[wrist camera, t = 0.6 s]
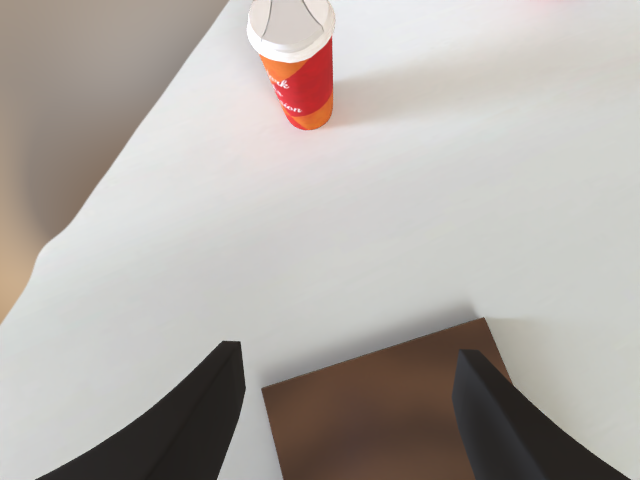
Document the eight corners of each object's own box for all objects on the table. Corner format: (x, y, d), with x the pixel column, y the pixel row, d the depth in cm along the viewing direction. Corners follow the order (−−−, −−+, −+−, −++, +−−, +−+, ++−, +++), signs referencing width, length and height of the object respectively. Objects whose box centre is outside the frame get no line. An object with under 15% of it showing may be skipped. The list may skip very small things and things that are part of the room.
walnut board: (555, 499, 34) (564, 506, 32) (311, 575, 34) (309, 585, 32) (479, 318, 38) (484, 317, 37) (264, 386, 38) (260, 388, 37)
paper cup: (273, 87, 47) (238, -16, 34) (336, 75, 47) (326, -34, 33) (281, 145, 45) (247, 60, 31) (347, 132, 45) (342, 40, 31)
